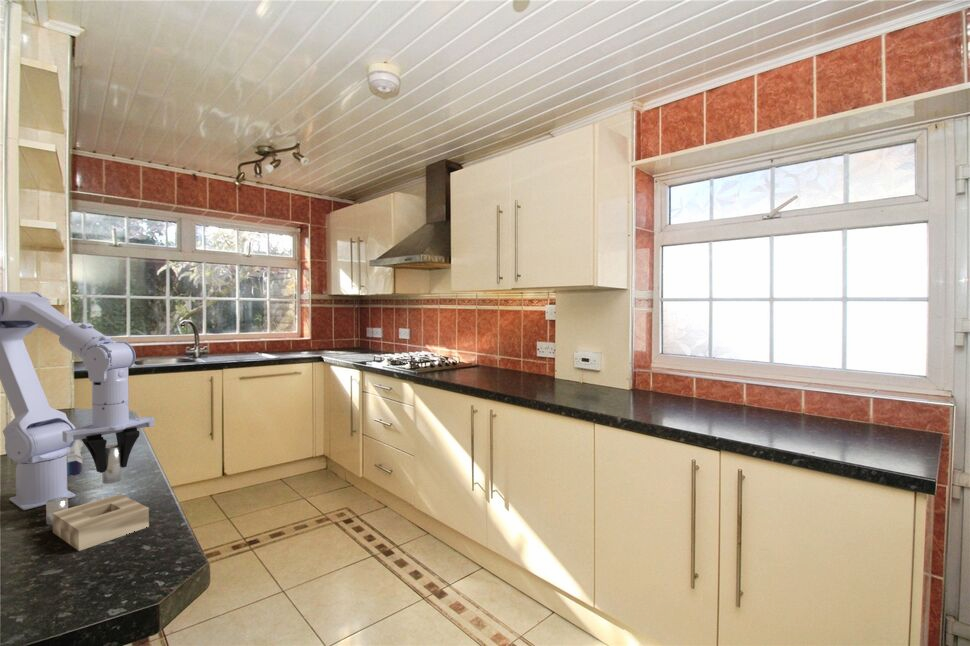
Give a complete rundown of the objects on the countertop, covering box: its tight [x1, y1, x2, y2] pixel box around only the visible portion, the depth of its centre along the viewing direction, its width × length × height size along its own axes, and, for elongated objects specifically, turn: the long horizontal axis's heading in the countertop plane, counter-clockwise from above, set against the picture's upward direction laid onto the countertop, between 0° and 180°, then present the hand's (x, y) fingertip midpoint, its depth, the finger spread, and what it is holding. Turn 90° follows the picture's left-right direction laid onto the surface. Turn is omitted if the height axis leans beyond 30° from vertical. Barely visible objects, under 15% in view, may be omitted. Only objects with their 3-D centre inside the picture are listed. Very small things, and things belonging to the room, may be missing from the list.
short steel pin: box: [45, 497, 69, 526], centre depth 85 cm, size 3×3×4 cm
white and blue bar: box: [67, 439, 85, 477], centre depth 118 cm, size 5×7×25 cm
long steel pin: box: [101, 444, 122, 485], centre depth 92 cm, size 3×3×7 cm
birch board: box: [52, 493, 150, 552], centre depth 82 cm, size 12×10×4 cm
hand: (111, 468), depth 93 cm, fingers closed on long steel pin, 3 cm apart
